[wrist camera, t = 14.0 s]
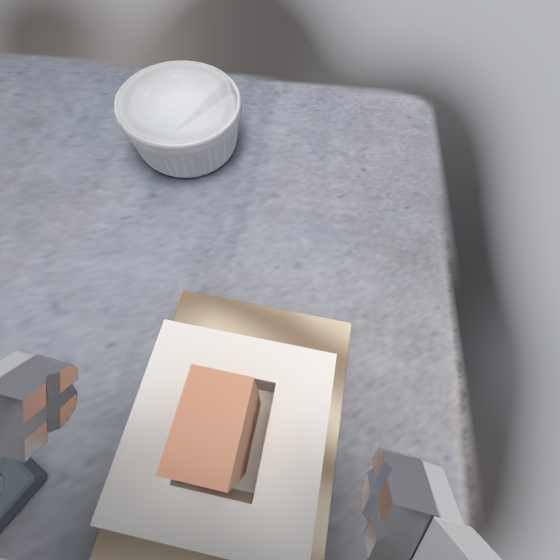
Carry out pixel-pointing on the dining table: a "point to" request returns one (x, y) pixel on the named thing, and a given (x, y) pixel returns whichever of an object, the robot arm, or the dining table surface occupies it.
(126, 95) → the ramekin
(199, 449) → the block
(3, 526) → the bracket
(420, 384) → the dining table surface
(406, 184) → the dining table surface
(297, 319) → the base board
